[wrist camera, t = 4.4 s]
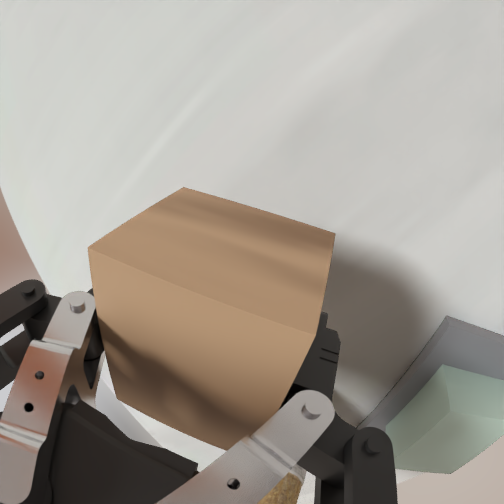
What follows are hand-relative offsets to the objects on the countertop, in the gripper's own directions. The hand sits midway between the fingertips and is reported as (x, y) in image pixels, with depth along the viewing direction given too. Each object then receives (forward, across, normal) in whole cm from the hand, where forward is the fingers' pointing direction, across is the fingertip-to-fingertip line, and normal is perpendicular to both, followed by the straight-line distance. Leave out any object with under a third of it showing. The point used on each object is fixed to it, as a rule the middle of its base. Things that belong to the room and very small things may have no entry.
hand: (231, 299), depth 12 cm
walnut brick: (+1, 0, 0) cm, 1 cm away
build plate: (+7, -17, +8) cm, 20 cm away
